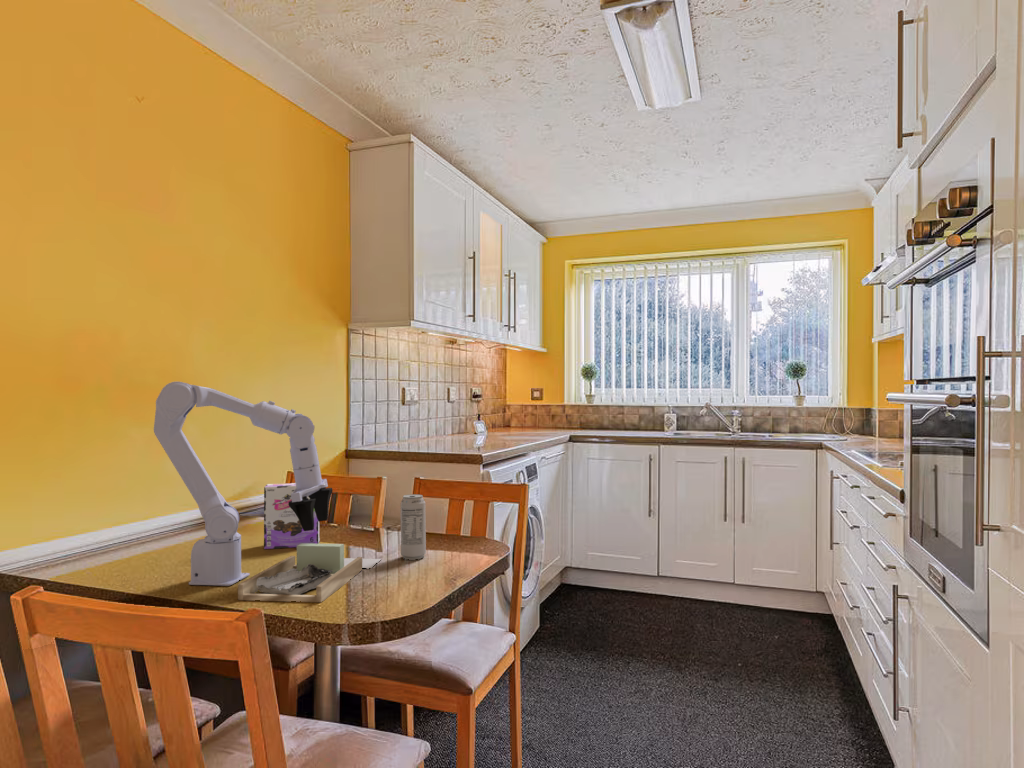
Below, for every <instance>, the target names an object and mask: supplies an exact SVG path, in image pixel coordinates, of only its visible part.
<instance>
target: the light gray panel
mask: <svg viewBox="0 0 1024 768" xmlns="http://www.w3.org/2000/svg"><path fill="white" fill-rule="evenodd" d="M356 558H357V557H356ZM356 558H353V557H350V558H349V557H344V566H346V565H347V564H349V563H350V562H352V561H353V560H355V559H356ZM381 559H382V558H363V557H362V568H371V569H373V568H374V567H375V566H376V565H377V564H376V563H378V562H379V561H380V560H381ZM381 561H382V560H381ZM381 561H380V562H381ZM380 562H379V563H380ZM379 563H378V564H379ZM375 564H376V565H375ZM374 565H375V566H374ZM373 566H374V567H373ZM372 567H373V568H372Z"/></svg>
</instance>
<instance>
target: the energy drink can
mask: <svg viewBox="0 0 1024 768" xmlns="http://www.w3.org/2000/svg"><path fill="white" fill-rule="evenodd" d="M426 519H427V518H426V501H425V499H424V496H423V494H417V493H415V494H414V493H413V494H404V495H403V496H402V500H401V501H400V555H401V556H402V558H403V559H404V558H405V559H404V560H406V559H409V560H408V561H416V560H415V559H418V560H422V559H423V558H424V557H425V555H426V553H427V550H426V549H427V545H426V544H427V540H426V539H427V538H426V537H427V536H426V535H427V534H426V533H427V531H426V529H427V525H426V524H427V523H426ZM421 558H422V559H421Z"/></svg>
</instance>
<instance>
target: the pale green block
mask: <svg viewBox="0 0 1024 768" xmlns="http://www.w3.org/2000/svg"><path fill="white" fill-rule="evenodd" d="M344 558H345V544H344V543H319V544H314V543H301V544H299V545H297V547H296V565H297V569H298V570H297V571H299V572H300V571H301V570H303V567H304V568H306V567H307V566H308V564H311V565H312V564H313V565H315V566H316V567H318V569H325V570H333V571H332V572H330V574H335V573H336V572H338V571H339V570H340V569H342V568H343V567H344Z"/></svg>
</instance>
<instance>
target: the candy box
mask: <svg viewBox="0 0 1024 768" xmlns="http://www.w3.org/2000/svg"><path fill="white" fill-rule="evenodd" d="M295 489H296V483H295V482H291V483H267V484H265V486H264V487H263V490H264V492H263V493H264V495H263V549H264V550H271V549H272V550H273V549H285V548H286V549H287V548H291V549H292V548H297V545H299V544H301V543H314V544H320V542H321V541H320V540H321V539H320V522H319V521H318V519H317V517H316V513H315V509H314V529H313V530H310V531H304V530H303V528H302V526H301V523H300V521H299V519H298V517H297V515H296V514H295V512H294V511H293V510H292V509H291V508H290V507H289V503H288V502H290V501H292V499H291V493H293V492H294V490H295ZM307 498H308V499H310V498H309V496H307Z"/></svg>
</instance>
